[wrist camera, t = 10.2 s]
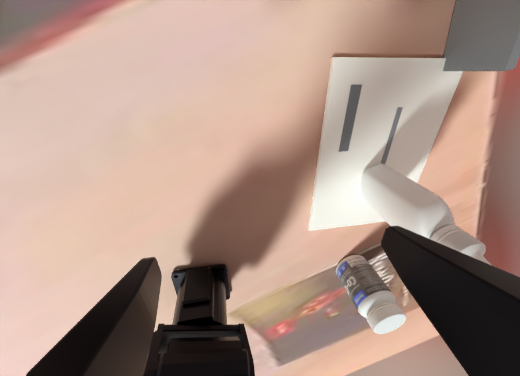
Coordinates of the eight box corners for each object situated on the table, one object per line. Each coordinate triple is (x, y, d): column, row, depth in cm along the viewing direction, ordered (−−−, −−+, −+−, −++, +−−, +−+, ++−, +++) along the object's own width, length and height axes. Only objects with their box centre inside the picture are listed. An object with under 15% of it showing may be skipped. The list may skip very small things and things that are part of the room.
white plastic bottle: (401, 162, 23) (549, 238, 12) (382, 205, 25) (491, 297, 15) (365, 161, 22) (490, 240, 12) (349, 205, 25) (440, 302, 14)
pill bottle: (335, 258, 29) (373, 319, 22) (366, 250, 30) (414, 307, 23) (334, 279, 32) (368, 340, 25) (363, 272, 32) (405, 329, 25)
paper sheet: (400, 217, 28) (402, 219, 27) (307, 229, 26) (308, 231, 25) (465, 58, 19) (469, 58, 19) (331, 57, 17) (334, 57, 17)
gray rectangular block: (448, 69, 19) (515, 68, 15) (439, 71, 19) (504, 70, 15) (479, -56, 15) (583, -107, 11) (468, -54, 15) (569, -104, 11)
